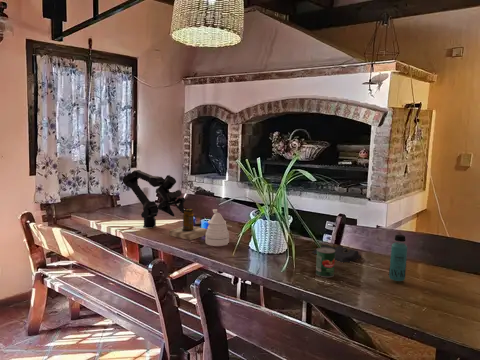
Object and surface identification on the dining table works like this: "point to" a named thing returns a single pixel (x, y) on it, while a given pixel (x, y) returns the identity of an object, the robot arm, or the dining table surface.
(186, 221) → the condiment
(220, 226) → the honey pot
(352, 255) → the dark slate chunk
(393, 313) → the dining table surface
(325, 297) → the dining table surface
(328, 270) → the canned tomato
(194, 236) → the base board
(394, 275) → the beverage bottle
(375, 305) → the dining table surface
